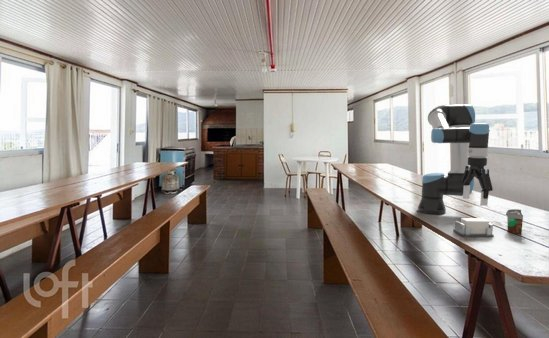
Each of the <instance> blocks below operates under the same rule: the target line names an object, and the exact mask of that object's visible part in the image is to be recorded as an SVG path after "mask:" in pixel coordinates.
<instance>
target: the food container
mask: <svg viewBox="0 0 549 338" xmlns="http://www.w3.org/2000/svg"><path fill="white" fill-rule="evenodd" d="M505 216H506V217H507V220H506V221H507V232H508V233H510V234H513V235H518V236H522V231H523V223H524V222H523V221H524V214H522V209H518V208H517V209H516V208H515V209H507V211H506V213H505Z"/></svg>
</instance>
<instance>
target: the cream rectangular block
mask: <svg viewBox="0 0 549 338" xmlns="http://www.w3.org/2000/svg"><path fill="white" fill-rule="evenodd" d="M460 222H461V223H463V224H465V228H470V234H486V228H489V223H490V221H489V220H487V219H486V218H482V217H481V218H480V217H479V218H477V217H476V218H473V217H469V218H468V217H467V218H466V217H464V218H463V217H461V218H460Z"/></svg>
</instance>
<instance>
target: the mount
mask: <svg viewBox="0 0 549 338" xmlns="http://www.w3.org/2000/svg"><path fill="white" fill-rule="evenodd" d="M493 229H494V224H492V223H491V222H489V228H486V234H470V228H465V224H463V223H461V221H458V220H454V228H453V229H452V231H453V232H454V233H456V235H457V234H458V235H459V236H461V237H463V238H494V235H495V234H493V232H494V231H493Z"/></svg>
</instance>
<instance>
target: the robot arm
mask: <svg viewBox="0 0 549 338" xmlns="http://www.w3.org/2000/svg"><path fill="white" fill-rule="evenodd" d="M475 111H476V110H475V107H474V106H473V105H472V104H470V103H469V104H468V103H467V104H464V103H462V104H444V105H443V104H442V105H439V106H436V107H434V108H433V109H432V110H430V111H429V113H428V115H427V121H428V124H429V125H430V126H432V130H431V131H430V133H431V134H430V135H431V136H430V139H431V143H433V144H451V146H450V147H451V148H450V149H451V150H450V170H449V171H448V172H447V175H445V174H444V172H431V173H426V174H424V175H423V176H422V178H421V179H422V181H421V184H422V185H421V187H422V188H421V199H420V202H419V203H418V206H417V211H418V212H420V213H423V214H430V215H443V214H444V215H445V214H446V211H447V209H446V205H445V202H444V196H453V197H454V196H456V197H457V196H458V197H462V199H463V200H464V199H465V200H467V199H468V200H469V199H470V196H471V194H472V193H473V190H474V186H475V179H477V180H478V182H479V185H480V188H481V190H480V202H479V206H484V207H485V206H486V207H487V206H488V203H489V201H488V199H489V192H491V191H493V190H494V188H493V183H492V181H491V177H490V168H484V167H486V166H487V164H488V158H487V157H488V155H489V154H488V153H489V139H490V137H489V136H490V131H491V130H490V124H489V123H487V122H485V123H483V122H481V123H479V122H478V123H477V122H476V112H475ZM475 122H476V123H475Z"/></svg>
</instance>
